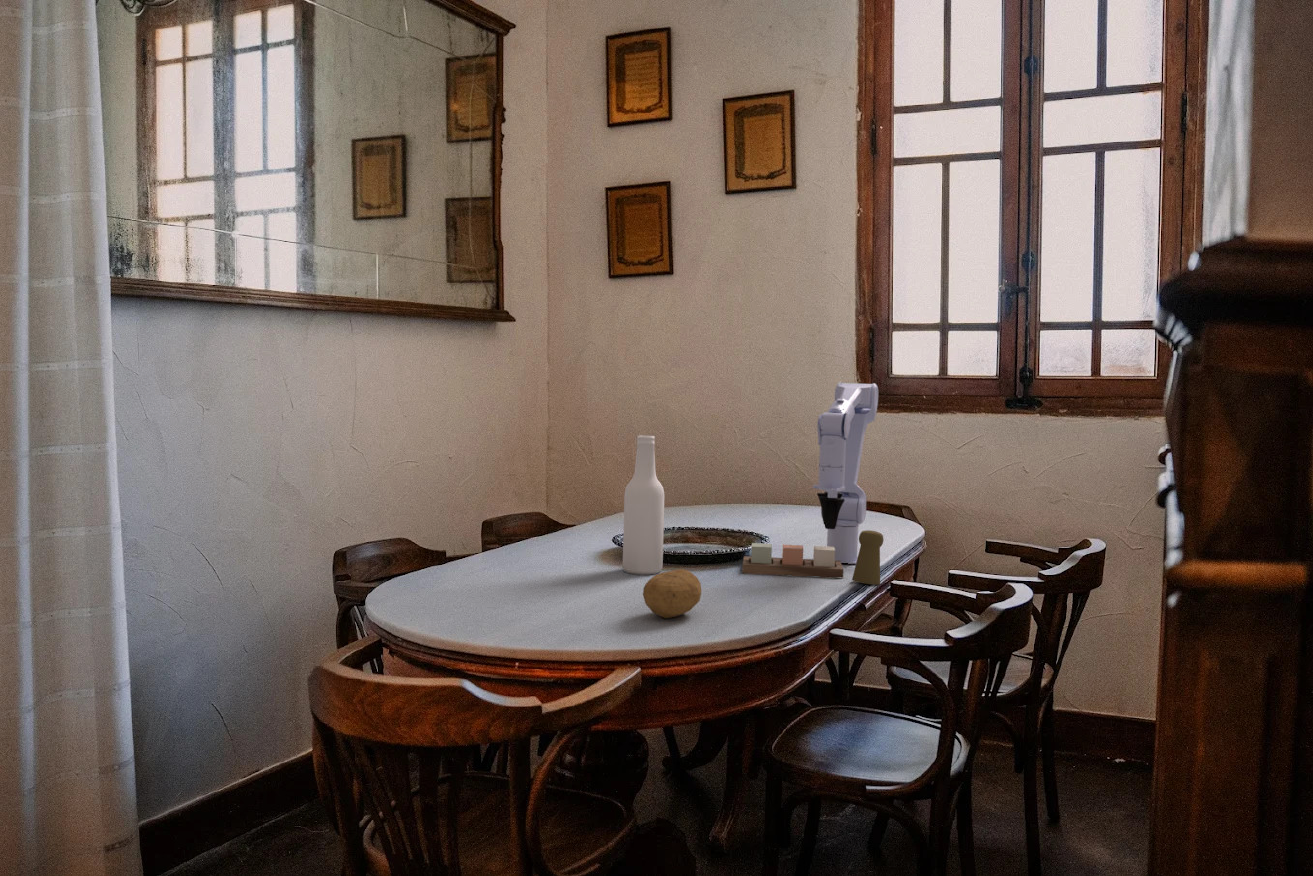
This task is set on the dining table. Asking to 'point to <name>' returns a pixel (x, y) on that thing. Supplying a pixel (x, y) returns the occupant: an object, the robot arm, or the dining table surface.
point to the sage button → (761, 553)
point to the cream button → (824, 556)
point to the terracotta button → (792, 555)
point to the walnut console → (792, 568)
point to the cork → (868, 558)
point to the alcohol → (643, 514)
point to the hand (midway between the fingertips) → (829, 526)
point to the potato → (672, 593)
